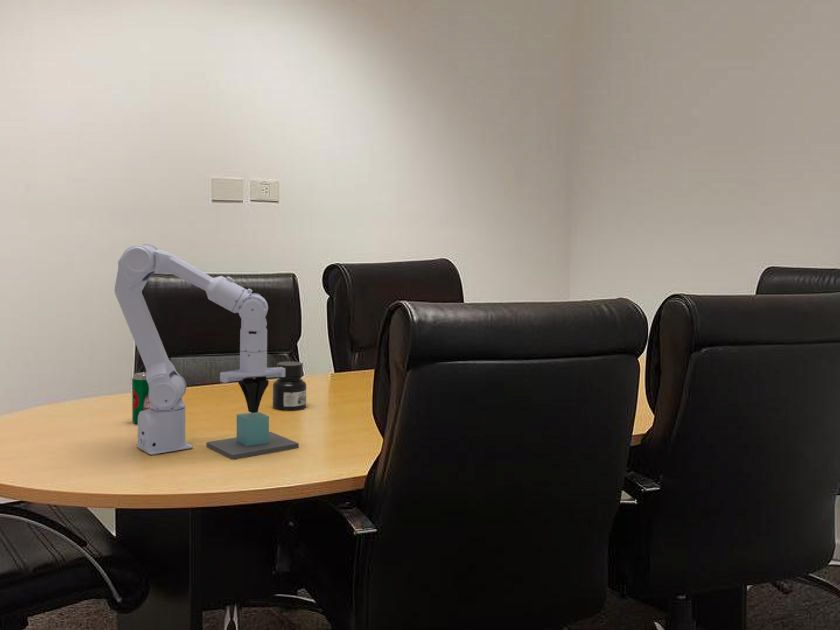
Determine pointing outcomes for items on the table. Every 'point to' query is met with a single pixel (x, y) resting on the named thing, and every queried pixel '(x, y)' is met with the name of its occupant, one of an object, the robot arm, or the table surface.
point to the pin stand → (239, 450)
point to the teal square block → (252, 429)
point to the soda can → (139, 395)
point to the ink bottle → (290, 388)
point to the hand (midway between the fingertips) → (253, 411)
